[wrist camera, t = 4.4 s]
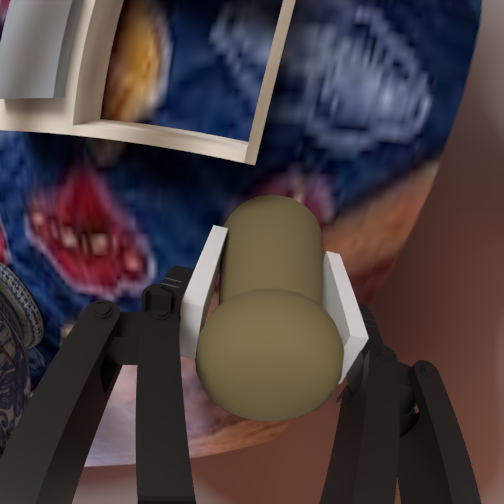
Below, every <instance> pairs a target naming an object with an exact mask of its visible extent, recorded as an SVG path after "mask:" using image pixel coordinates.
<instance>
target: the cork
mask: <svg viewBox="0 0 504 504" xmlns="http://www.w3.org/2000/svg"><path fill="white" fill-rule="evenodd" d="M224 228H228V230H227V235H226V240H225V244H224V248H223V252H222V257H221V262H220V289H219V306H218V307H217V308H216V309H215V311H214V312H213V313H212V315H211V316H210V318H209V319H208V321H207V322H206V324H205V325H204V327H203V328H202V330H201V332H200V335H199V338H198V342H197V348H196V356H195V362H196V371H197V374H198V377H199V380H200V383H201V385H202V387H203V389H204V390H205V392H206V394H207V395H208V396H209V397H210V398H211V400H212V401H213V402H214V403H215V404H216V405H218V406H219V407H221V408H222V409H224V410H226V411H227V412H229V413H231V414H234V415H237V416H240V417H243V418H246V419H251V420H258V421H283V420H288V419H292V418H297V417H301V416H303V415H305V414H307V413H309V412H312V411H314V410H316V409H317V408H319V407H320V406H321V405H322V404H324V403H325V402H326V401H327V400H328V399H329V397H330V396H331V394H332V392H333V391H334V389H335V388H336V386H337V384H338V383H339V381H340V379H341V376H342V368H343V359H344V348H343V344H342V339H341V337H340V334H339V332H338V329H337V326H336V324H335V322H334V321H333V319H332V318H331V316H330V315H329V314H328V313H327V312H326V311H325V310H324V309H323V308H322V231H321V229H320V226H319V224H318V221H317V219H316V217H315V216H314V215H313V214H312V213H311V211H310V210H309V209H308V208H307V207H306V206H305V205H303V204H301V203H299V202H298V201H296V200H294V199H293V198H289V197H285V196H280V195H276V194H275V195H264V196H257V197H255V198H252V199H250V200H248V201H245V202H243V203H242V204H241V205H240V206H238V207H237V208H236V209H235V210H234V211H233V212H231V214H230V216H229V217H228V219H227V221H226V223H225V224H224Z"/></svg>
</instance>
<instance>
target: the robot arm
mask: <svg viewBox="0 0 504 504" xmlns="http://www.w3.org/2000/svg"><path fill="white" fill-rule="evenodd" d="M227 230H228V228H224V227H219V226H215V225H213V227H212V230H211V232H210V234H209V237H208V239H207V241H206V244H205V246H204V249H203V251H202V253H201V256H200V258H199V260H198V263H197V265H196V268H195V270H194V269H190V268H186V267H181V266H177V265H176V266H175V267H173V268H171V269H170V270H169V271H168V273H167V274H166V276H165V278H164V280H163V282H162V284H153V285H150V286H148V287H146V288H145V289H144V290H143V293H142V311H139V312H120V309H119V307H118V306H117V305H116V304H115V303H113V302H111V301H107V300H99V301H95V302H92V303H90V304H89V305H88V306H87V307H86V308H85V310H84V311H83V313H82V314H81V316H80V317H79V319H78V320H77V322H76V324H75V325H74V327H73V328H72V330H71V331H70V333H69V334H68V336H67V337H66V339H65V341H64V342H63V344H62V345H61V347H60V349H59V350H58V352H57V354H56V355H55V357H54V358H53V360H52V362H51V363H50V365H49V367H48V369H47V370H46V372H45V374H44V375H43V377H42V379H41V381H40V382H39V384H38V386H37V388H36V389H35V391H34V393H33V395H32V397H31V399H30V400H29V402H28V404H27V406H26V408H25V410H24V412H23V414H22V415H21V417H20V419H19V421H18V423H17V425H16V427H15V429H14V431H13V433H12V435H11V437H10V439H9V442H8V444H7V446H6V448H5V450H4V452H3V454H2V457H1V459H0V504H72V501H73V498H74V495H75V492H76V488H77V485H78V482H79V479H80V476H81V473H82V470H83V467H84V464H85V461H86V459H87V456H88V453H89V450H90V447H91V445H92V442H93V439H94V436H95V434H96V431H97V428H98V426H99V423H100V420H101V418H102V415H103V412H104V410H105V407H106V405H107V402H108V400H109V397H110V395H111V392H112V390H113V387H114V385H115V382H116V380H117V378H118V375H119V373H120V370H121V368H122V366H123V365H138V367H137V388H136V475H137V495H138V504H196V500H195V494H194V487H193V480H192V473H191V466H190V458H189V449H188V441H187V432H186V422H185V412H184V401H183V389H182V376H181V361H180V356H183V357H187V358H192V359H195V356H196V348H197V342H198V338H199V335H200V332H201V330H202V328H203V327H204V324H205V321H206V317H207V313H208V310H209V306H210V303H211V299H212V295H213V292H214V288H215V285H216V281H217V278H218V274H219V270H220V262H221V257H222V252H223V248H224V244H225V240H226V235H227ZM322 308H323V309H324V310H325V311H326V312H327V313H328V314H329V315H330V316H331V318H332V319H333V321H334V322H335V324H336V326H337V329H338V332H339V334H340V337H341V339H342V344H343V348H344V359H343V368H342V376H341V379H340V381H339V383H338V384H341V382H342V381H343V379H344V378H345V376H347V381H348V384H347V385H346V387H345V388H344V390H343V391H342V393H341V394H340V396H339V397H338V399H337V401H336V402H339V401H340V399H341V398H342V402H341V408H340V413H339V419H338V425H337V430H336V435H335V440H334V445H333V449H332V454H331V459H330V463H329V467H328V472H327V476H326V481H325V484H324V489H323V492H322V496H321V500H320V503H319V504H394V502H395V492H396V482H397V477H398V484H399V490H400V497H401V504H481V499H480V495H479V492H478V487H477V483H476V480H475V476H474V473H473V469H472V466H471V462H470V459H469V455H468V452H467V449H466V445H465V442H464V439H463V436H462V433H461V430H460V427H459V424H458V422H457V418H456V416H455V413H454V410H453V407H452V405H451V402H450V399H449V397H448V394H447V391H446V389H445V387H444V384H443V381H442V379H441V377H440V374H439V372H438V370H437V369H436V367H435V366H434V365H432V364H431V363H430V362H428V361H424V360H419V361H417V362H416V363H415V364H414V365H413V367H411V366H409V365H406V364H403V363H401V362H399V361H398V358H397V355H396V354H395V353H394V351H393V350H392V349H390V348H389V347H387V346H385V345H384V343H383V340H382V337H381V335H380V332H379V329H378V327H377V324H376V321H375V318H374V316H373V313H372V312H371V310H370V309H369V308H368V307H367V306H366V305H363V304H358V303H357V301H356V298H355V295H354V293H353V290H352V287H351V284H350V281H349V278H348V276H347V273H346V270H345V267H344V265H343V262H342V259H341V257H340V254H337V253H332V252H328V251H326V254H325V256H324V259H323V262H322ZM416 406H418V409H419V412H418V413H416V412H415V407H416Z"/></svg>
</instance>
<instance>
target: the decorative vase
mask: <svg viewBox="0 0 504 504" xmlns="http://www.w3.org/2000/svg"><path fill="white" fill-rule="evenodd" d="M43 333H44V325H43V320H42V316H41V314H40V311H39V309H38V306H37V304H36V302H35V300H34V299H33V297H32V295H31V294H30V292H29V290H28V289H27V288H26V286H25V285H24V284H23V282H22V281H21V280H20V279H19V277H18V276H16V274H15V273H14V272H13V271H12V270H11V269H10V268H8V267H7V266H6V265H5V264H3V263H1V262H0V459H1V457H2V454H3V452H4V450H5V448H6V446H7V444H8V442H9V439H10V437H11V435H12V433H13V431H14V429H15V427H16V425H17V423H18V421H19V419H20V417H21V415H22V414H23V412H24V410H25V408H26V406H27V404H28V402H29V400H30V392H31V388H30V371H29V362H28V358H27V354H26V350H25V349H28V348H31V347H34V346H36V345H37V344H38V343H39V342H40V341H41V339H42V337H43Z"/></svg>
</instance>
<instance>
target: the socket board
mask: <svg viewBox="0 0 504 504" xmlns="http://www.w3.org/2000/svg"><path fill="white" fill-rule="evenodd" d="M123 1H124V0H12V1H10V5H9V8H8V12H7V16H6V20H5V24H4V29H3V33H2V38H1V43H0V130H11V131H29V132H43V133H55V134H66V135H76V136H86V137H94V138H103V139H111V140H118V141H125V142H132V143H139V144H146V145H152V146H158V147H164V148H170V149H176V150H182V151H187V152H193V153H198V154H203V155H208V156H213V157H218V158H223V159H228V160H233V161H238V162H242V163H247V164H251V165H255V163H256V159H257V155H258V151H259V147H260V142H261V138H262V134H263V130H264V126H265V121H266V117H267V113H268V109H269V105H270V101H271V97H272V93H273V88H274V84H275V80H276V76H277V72H278V68H279V64H280V60H281V56H282V52H283V48H284V44H285V40H286V36H287V32H288V28H289V25H290V21H291V17H292V13H293V9H294V5H295V1H296V0H283V4H282V8H281V11H280V15H279V19H278V23H277V27H276V31H275V35H274V39H273V43H272V46H271V50H270V54H269V59H268V63H267V67H266V71H265V75H264V79H263V83H262V87H261V91H260V95H259V100H258V104H257V108H256V112H255V117H254V121H253V125H252V130H251V134H250V138H249V142H244V141H239V140H235V139H230V138H225V137H220V136H215V135H209V134H204V133H198V132H193V131H187V130H181V129H175V128H168V127H162V126H155V125H147V124H140V123H132V122H123V121H114V120H105V119H100V117H101V109H102V101H103V94H104V88H105V82H106V76H107V70H108V65H109V60H110V54H111V50H112V45H113V40H114V36H115V32H116V27H117V23H118V19H119V16H120V12H121V8H122V4H123Z"/></svg>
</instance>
